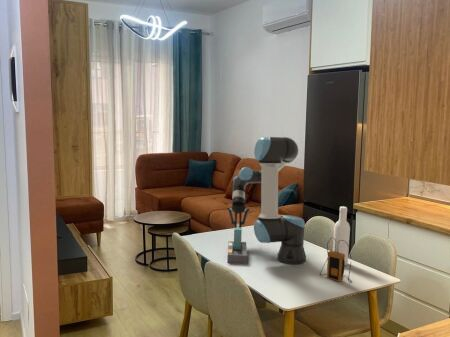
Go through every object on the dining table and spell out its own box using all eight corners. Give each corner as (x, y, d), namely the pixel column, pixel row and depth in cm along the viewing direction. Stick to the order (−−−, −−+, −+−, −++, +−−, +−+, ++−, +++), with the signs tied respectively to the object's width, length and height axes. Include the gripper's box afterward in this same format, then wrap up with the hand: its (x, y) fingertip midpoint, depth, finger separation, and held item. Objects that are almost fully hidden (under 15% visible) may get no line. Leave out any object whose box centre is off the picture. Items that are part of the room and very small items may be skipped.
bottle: (338, 266, 226) (341, 209, 222) (328, 261, 233) (332, 205, 229) (350, 265, 229) (354, 208, 225) (341, 260, 236) (345, 205, 232)
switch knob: (233, 246, 246) (234, 227, 245) (241, 246, 246) (241, 227, 245) (233, 249, 241) (233, 229, 240) (241, 249, 241) (242, 230, 240)
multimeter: (357, 279, 209) (360, 238, 207) (347, 284, 202) (350, 242, 199) (329, 271, 219) (331, 231, 216) (319, 276, 212) (321, 235, 209)
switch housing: (228, 248, 250) (228, 240, 249) (245, 249, 250) (246, 241, 249) (227, 262, 226) (227, 254, 225) (246, 263, 226) (247, 255, 225)
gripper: (249, 203, 264) (249, 238, 250) (227, 202, 264) (225, 237, 250) (249, 196, 258) (249, 231, 244) (227, 195, 259) (226, 230, 244)
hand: (237, 234), depth 247 cm, fingers closed
